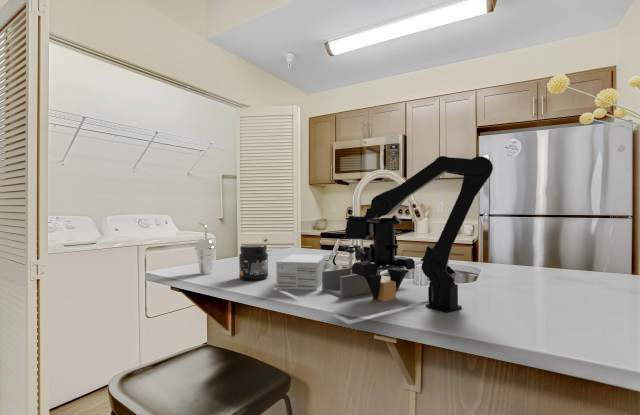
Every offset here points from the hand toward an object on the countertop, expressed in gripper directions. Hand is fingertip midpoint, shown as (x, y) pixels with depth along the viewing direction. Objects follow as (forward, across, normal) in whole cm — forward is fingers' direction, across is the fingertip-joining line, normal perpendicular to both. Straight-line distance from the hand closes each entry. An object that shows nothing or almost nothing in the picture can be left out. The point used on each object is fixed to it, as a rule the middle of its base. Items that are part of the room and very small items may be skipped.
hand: (384, 297), depth 92 cm
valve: (+1, -10, -27) cm, 29 cm away
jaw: (+1, 0, 0) cm, 1 cm away
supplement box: (+2, +9, -29) cm, 30 cm away
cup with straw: (+1, +30, -69) cm, 75 cm away
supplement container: (+1, +18, -49) cm, 52 cm away
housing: (+1, +2, -12) cm, 12 cm away
